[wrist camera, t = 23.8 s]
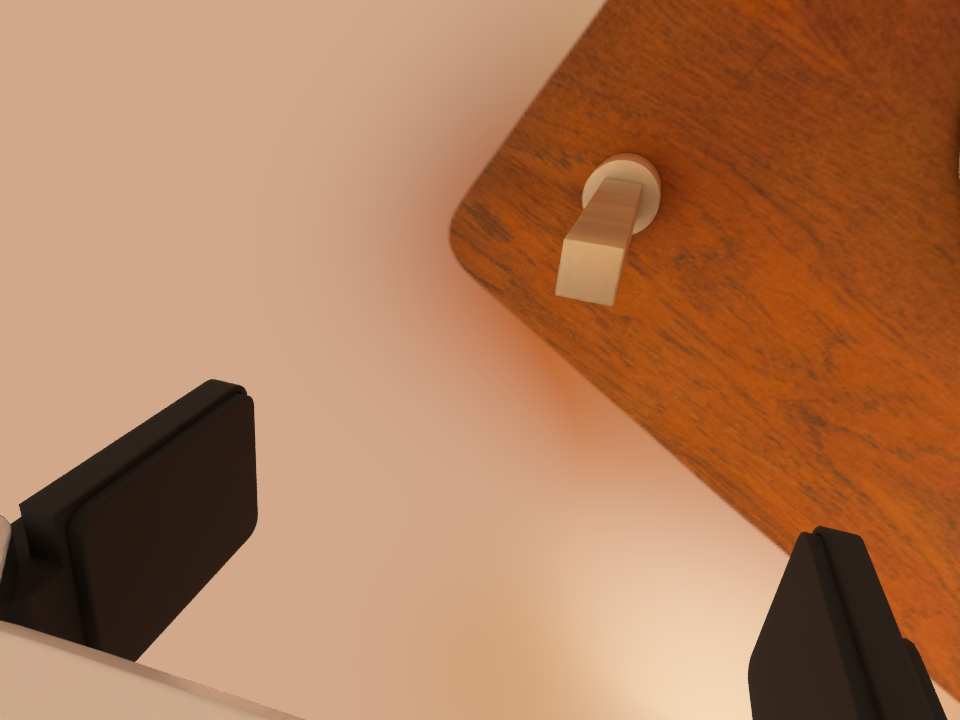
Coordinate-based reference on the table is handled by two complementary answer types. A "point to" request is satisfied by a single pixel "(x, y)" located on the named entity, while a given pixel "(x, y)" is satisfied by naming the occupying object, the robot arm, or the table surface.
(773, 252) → the table surface
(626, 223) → the stirrer
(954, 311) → the table surface
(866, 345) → the table surface
